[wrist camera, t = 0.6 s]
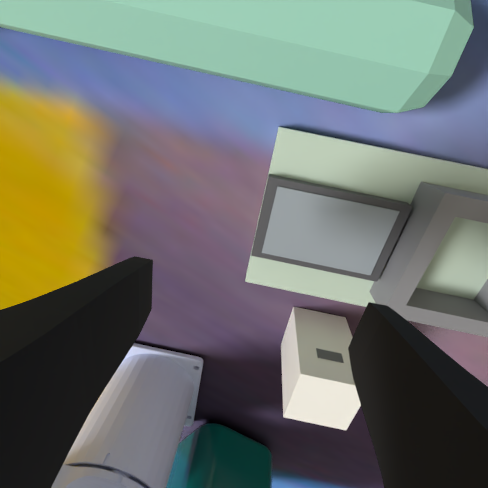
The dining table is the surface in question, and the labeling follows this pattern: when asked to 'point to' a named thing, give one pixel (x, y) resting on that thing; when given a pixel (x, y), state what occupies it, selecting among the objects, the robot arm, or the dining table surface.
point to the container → (275, 41)
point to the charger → (318, 370)
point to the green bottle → (220, 460)
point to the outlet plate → (375, 230)
